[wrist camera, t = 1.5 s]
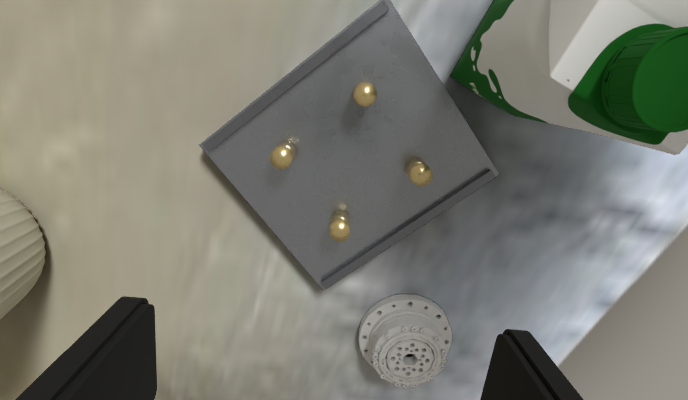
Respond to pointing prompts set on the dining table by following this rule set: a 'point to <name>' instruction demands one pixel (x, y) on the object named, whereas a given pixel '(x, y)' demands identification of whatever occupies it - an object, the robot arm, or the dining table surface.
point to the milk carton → (586, 66)
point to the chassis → (352, 148)
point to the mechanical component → (405, 339)
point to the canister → (18, 252)
